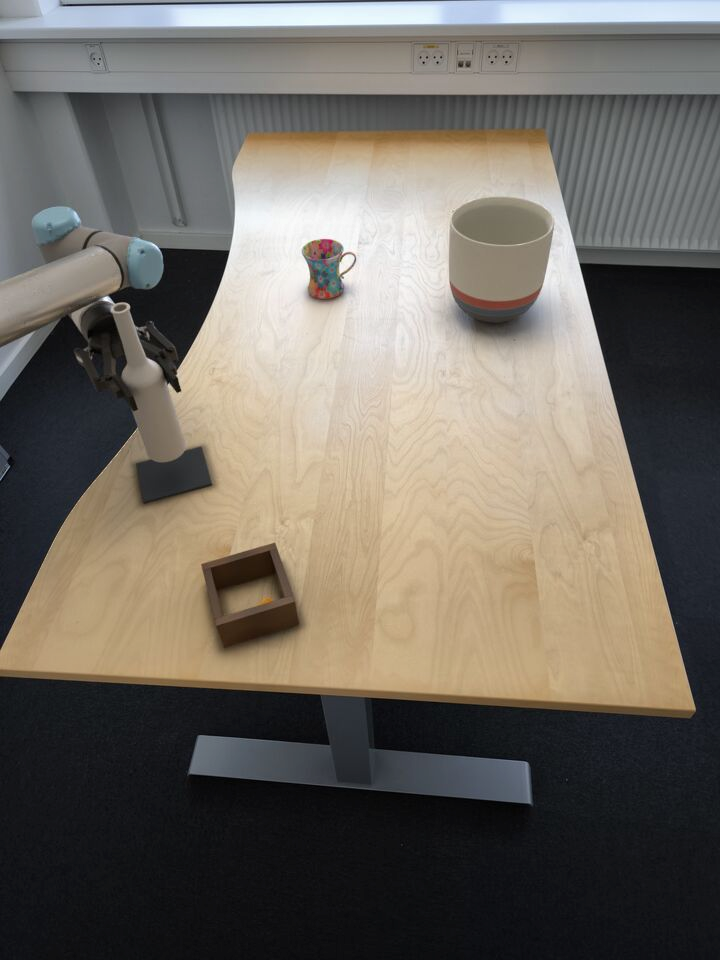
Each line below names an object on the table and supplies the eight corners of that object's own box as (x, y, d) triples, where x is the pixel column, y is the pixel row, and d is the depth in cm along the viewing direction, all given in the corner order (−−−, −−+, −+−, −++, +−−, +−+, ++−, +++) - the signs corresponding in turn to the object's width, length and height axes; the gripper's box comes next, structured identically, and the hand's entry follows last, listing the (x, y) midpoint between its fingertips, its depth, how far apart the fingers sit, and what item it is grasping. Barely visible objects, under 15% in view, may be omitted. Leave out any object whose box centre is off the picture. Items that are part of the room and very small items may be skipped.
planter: (536, 287, 166) (549, 195, 151) (543, 340, 152) (559, 245, 137) (446, 286, 168) (450, 196, 152) (445, 339, 154) (450, 245, 139)
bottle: (189, 434, 126) (147, 293, 106) (182, 462, 122) (137, 320, 101) (151, 435, 126) (102, 295, 106) (143, 463, 122) (90, 321, 101)
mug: (306, 304, 166) (302, 261, 158) (305, 282, 172) (300, 240, 164) (359, 299, 166) (357, 257, 158) (356, 277, 172) (353, 235, 165)
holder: (223, 648, 105) (215, 625, 101) (208, 587, 113) (200, 563, 109) (299, 624, 108) (295, 601, 103) (280, 565, 115) (275, 542, 111)
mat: (143, 503, 126) (143, 501, 125) (136, 465, 132) (135, 463, 132) (212, 485, 128) (211, 483, 128) (202, 448, 135) (201, 446, 134)
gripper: (160, 321, 129) (218, 388, 116) (53, 362, 123) (101, 439, 109) (149, 284, 124) (208, 350, 110) (37, 325, 117) (85, 400, 104)
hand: (155, 394), depth 110 cm, fingers closed on bottle, 6 cm apart
